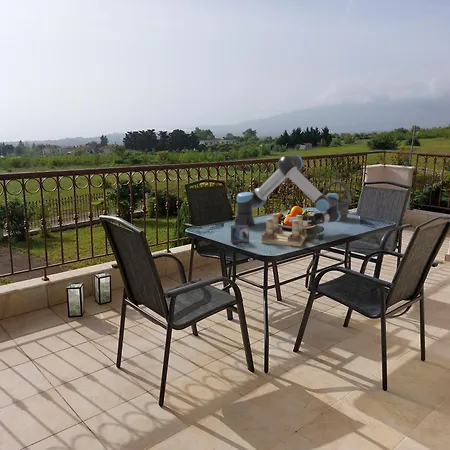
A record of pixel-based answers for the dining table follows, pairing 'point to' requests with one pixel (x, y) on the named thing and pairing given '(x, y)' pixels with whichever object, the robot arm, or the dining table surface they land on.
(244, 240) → the small box
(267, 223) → the upturned wooden stool
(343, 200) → the wicker basket
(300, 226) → the loose leg
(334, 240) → the dining table surface
